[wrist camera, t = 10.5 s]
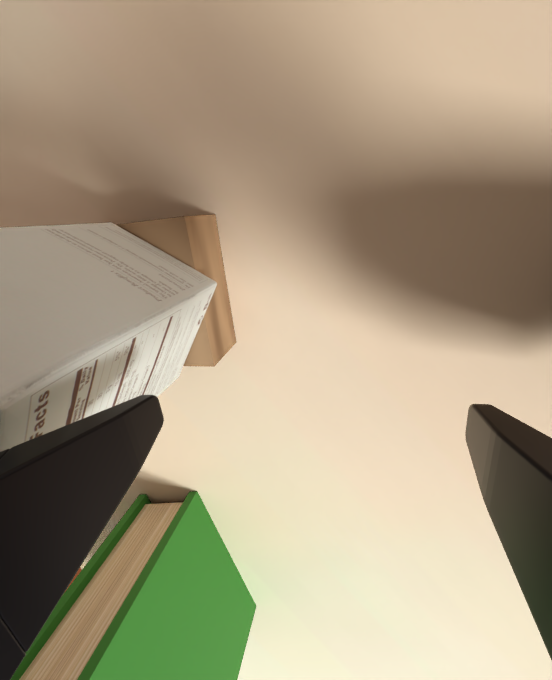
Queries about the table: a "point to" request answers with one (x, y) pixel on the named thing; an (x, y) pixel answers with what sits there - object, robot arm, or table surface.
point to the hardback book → (149, 604)
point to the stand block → (204, 256)
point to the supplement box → (88, 323)
